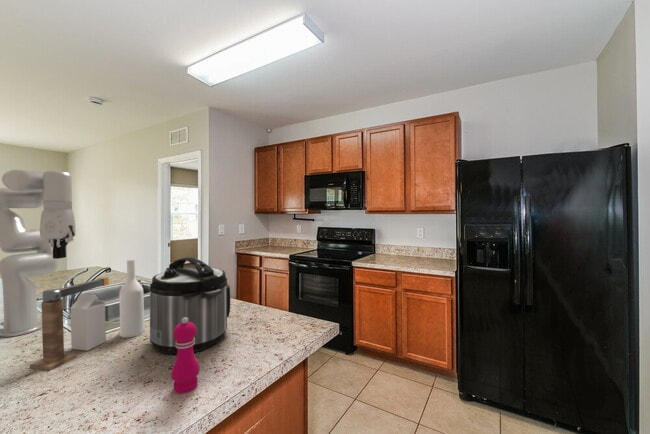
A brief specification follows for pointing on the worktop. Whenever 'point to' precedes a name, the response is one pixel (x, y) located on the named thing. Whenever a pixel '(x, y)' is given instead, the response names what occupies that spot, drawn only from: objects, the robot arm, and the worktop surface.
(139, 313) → the bottle
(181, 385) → the pepper mill
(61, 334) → the gate post
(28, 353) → the worktop surface
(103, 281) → the arm
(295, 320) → the worktop surface
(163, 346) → the pressure cooker
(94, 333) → the milk carton
